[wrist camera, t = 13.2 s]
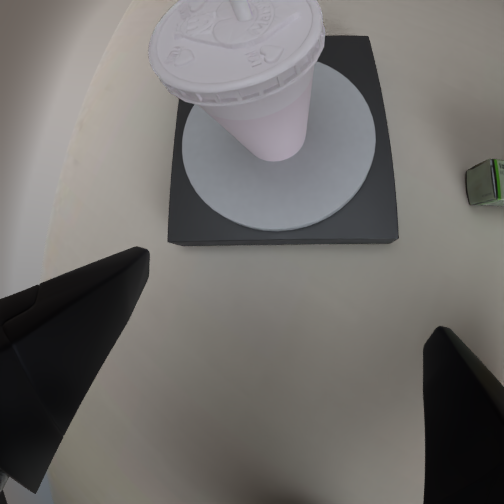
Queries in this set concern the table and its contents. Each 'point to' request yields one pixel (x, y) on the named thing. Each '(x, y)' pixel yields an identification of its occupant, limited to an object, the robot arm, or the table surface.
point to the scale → (292, 168)
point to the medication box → (486, 183)
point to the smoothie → (244, 66)
